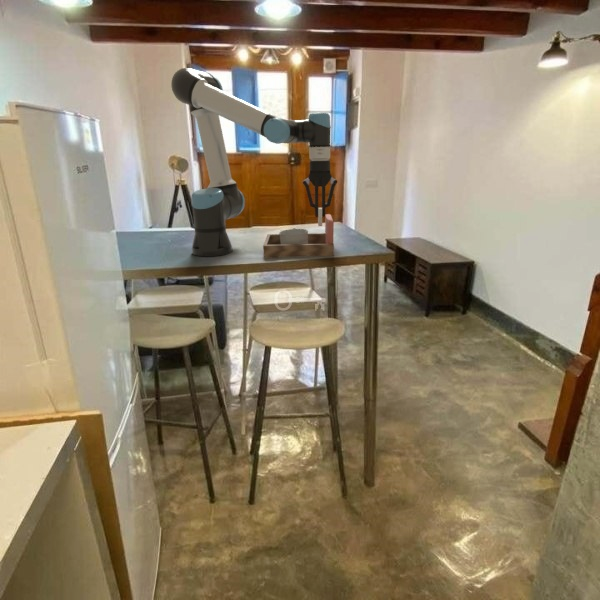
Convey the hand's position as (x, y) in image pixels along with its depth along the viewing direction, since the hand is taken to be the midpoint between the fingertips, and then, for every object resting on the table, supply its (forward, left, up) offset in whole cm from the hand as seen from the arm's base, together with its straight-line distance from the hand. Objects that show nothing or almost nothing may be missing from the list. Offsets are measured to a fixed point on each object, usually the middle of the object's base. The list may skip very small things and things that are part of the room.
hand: (320, 225), depth 159 cm
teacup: (-10, 0, -10) cm, 14 cm away
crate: (-8, 0, -10) cm, 13 cm away
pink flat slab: (+4, 0, -9) cm, 10 cm away
